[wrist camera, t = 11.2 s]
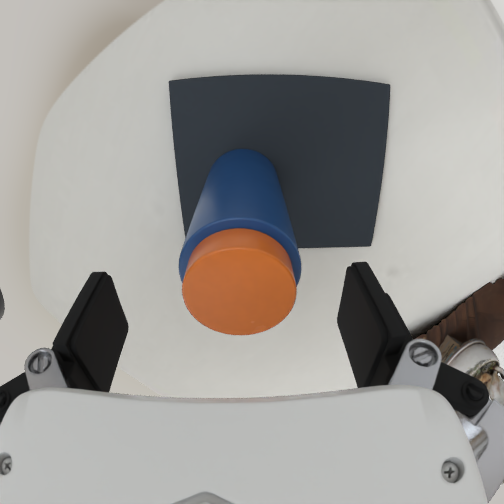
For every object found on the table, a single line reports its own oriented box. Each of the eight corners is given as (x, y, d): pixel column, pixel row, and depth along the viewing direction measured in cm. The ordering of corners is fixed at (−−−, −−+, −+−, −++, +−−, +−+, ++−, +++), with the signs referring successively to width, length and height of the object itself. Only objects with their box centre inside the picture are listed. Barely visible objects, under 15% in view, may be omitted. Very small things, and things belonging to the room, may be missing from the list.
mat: (188, 247, 26) (187, 251, 26) (170, 80, 19) (168, 80, 18) (368, 243, 26) (371, 246, 26) (387, 84, 19) (390, 84, 18)
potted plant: (372, 335, 36) (489, 476, 12) (468, 246, 35) (610, 314, 11) (414, 402, 42) (489, 503, 18) (490, 331, 40) (581, 402, 16)
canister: (210, 214, 24) (183, 342, 13) (205, 150, 21) (159, 239, 10) (277, 212, 24) (301, 339, 13) (277, 148, 21) (313, 235, 10)
